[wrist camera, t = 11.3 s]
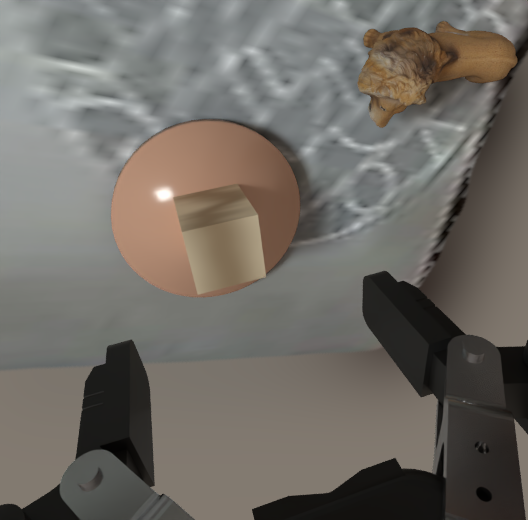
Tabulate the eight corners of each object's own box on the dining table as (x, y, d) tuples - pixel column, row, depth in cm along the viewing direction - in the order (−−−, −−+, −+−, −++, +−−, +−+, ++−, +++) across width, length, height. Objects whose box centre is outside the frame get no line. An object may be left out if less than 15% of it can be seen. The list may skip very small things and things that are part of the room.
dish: (287, 102, 31) (294, 105, 30) (298, 265, 39) (304, 273, 38) (83, 136, 28) (81, 142, 27) (140, 304, 36) (141, 315, 35)
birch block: (237, 183, 31) (257, 214, 26) (245, 239, 34) (266, 276, 29) (173, 197, 30) (181, 232, 25) (187, 253, 33) (197, 294, 28)
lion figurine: (326, 112, 32) (385, 140, 25) (319, 38, 29) (384, 44, 22) (485, 70, 34) (584, 84, 27) (494, -4, 31) (608, -11, 24)
